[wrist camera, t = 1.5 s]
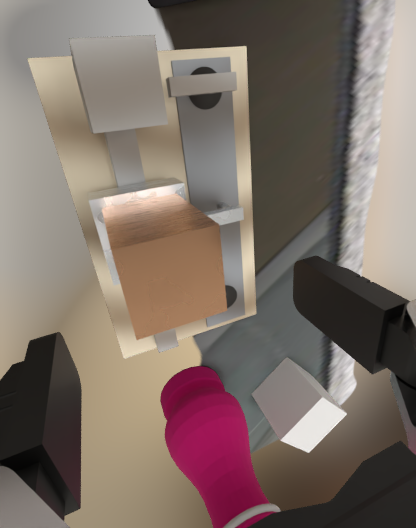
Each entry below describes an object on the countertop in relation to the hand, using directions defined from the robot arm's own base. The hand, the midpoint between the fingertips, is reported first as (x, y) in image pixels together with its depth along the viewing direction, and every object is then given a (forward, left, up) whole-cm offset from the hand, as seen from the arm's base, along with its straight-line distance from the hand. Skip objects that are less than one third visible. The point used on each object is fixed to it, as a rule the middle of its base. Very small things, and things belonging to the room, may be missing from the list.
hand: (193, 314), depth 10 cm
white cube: (+24, +13, -13) cm, 30 cm away
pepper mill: (+19, +2, -13) cm, 23 cm away
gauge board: (+1, +3, -13) cm, 13 cm away
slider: (0, +2, -10) cm, 10 cm away
